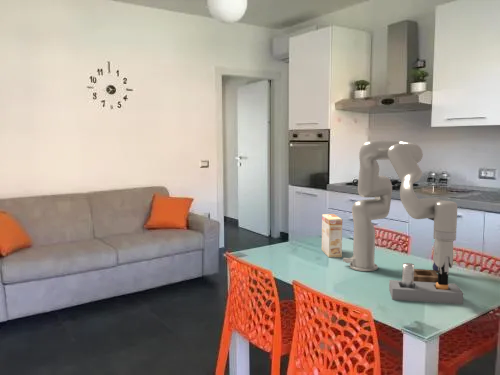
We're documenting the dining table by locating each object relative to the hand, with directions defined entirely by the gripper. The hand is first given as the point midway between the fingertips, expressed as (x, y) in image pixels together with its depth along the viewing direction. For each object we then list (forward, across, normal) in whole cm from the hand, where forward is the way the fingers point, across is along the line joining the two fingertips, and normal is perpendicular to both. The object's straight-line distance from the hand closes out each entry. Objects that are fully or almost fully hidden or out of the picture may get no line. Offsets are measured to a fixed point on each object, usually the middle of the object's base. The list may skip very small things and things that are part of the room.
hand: (442, 283), depth 159 cm
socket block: (+6, 0, -6) cm, 9 cm away
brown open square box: (+6, -13, -4) cm, 15 cm away
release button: (+5, 0, 0) cm, 5 cm away
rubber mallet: (+6, -36, +6) cm, 37 cm away
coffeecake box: (+6, -58, -41) cm, 72 cm away
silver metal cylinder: (+5, 0, -12) cm, 13 cm away
